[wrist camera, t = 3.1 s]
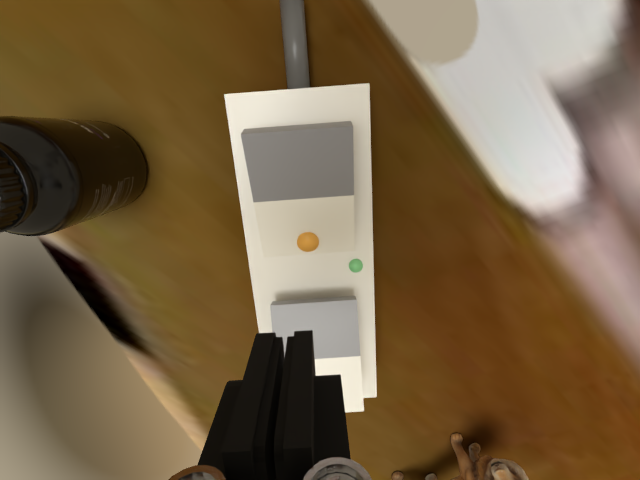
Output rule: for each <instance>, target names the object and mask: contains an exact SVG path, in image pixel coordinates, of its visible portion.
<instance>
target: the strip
mask: <svg viewBox="0 0 640 480" xmlns="http://www.w3.org/2000/svg"><path fill="white" fill-rule="evenodd" d="M280 11H281V22H282V33H283V44H284V55H285V65H286V76H287V87H288V89H287V90H274V91H260V92H247V93H234V94H224V96H225V103H226V110H227V117H228V124H229V130H230V137H231V144H232V151H233V158H234V165H235V172H236V178H237V185H238V192H239V199H240V206H241V213H242V219H243V226H244V233H245V240H246V247H247V254H248V261H249V267H250V274H251V281H252V288H253V295H254V302H255V308H256V315H257V322H258V329H259V333H272V322H271V310H270V305H271V303H272V302H273V301H282V300H297V299H312V298H327V297H341V296H356V299H357V310H358V326H359V341H360V357H361V373H362V388H363V398H369V397H377V391H376V348H375V304H374V261H373V217H372V174H371V130H370V87H369V83H366V84H353V85H340V86H326V87H313V88H310V80H309V66H308V53H307V39H306V25H305V12H304V0H280ZM343 121H351V122H352V125H353V152H354V227H355V251H349V252H335V253H321V254H306V255H292V256H277V257H264V256H263V250H262V245H261V240H260V234H259V229H258V224H257V219H256V213H255V208H254V203H253V197H252V192H251V187H250V181H249V176H248V171H247V166H246V160H245V155H244V150H243V144H242V139H241V133H242V132H243V130H244V129H249V128H262V127H276V126H289V125H302V124H316V123H329V122H343Z"/></svg>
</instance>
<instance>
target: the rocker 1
mask: <svg viewBox="0 0 640 480" xmlns="http://www.w3.org/2000/svg"><path fill="white" fill-rule="evenodd" d="M241 139H242V144H243V150H244V155H245V160H246V166H247V171H248V176H249V181H250V187H251V192H252V197H253V203H254V208H255V213H256V219H257V224H258V229H259V234H260V240H261V245H262V250H263V256H264V257H277V256H292V255H306V254H321V253H335V252H349V251H355V227H354V152H353V125H352V122H351V121H343V122H329V123H316V124H302V125H289V126H276V127H262V128H249V129H244V130H243V132H242V133H241Z"/></svg>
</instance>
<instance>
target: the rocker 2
mask: <svg viewBox="0 0 640 480" xmlns="http://www.w3.org/2000/svg"><path fill="white" fill-rule="evenodd" d="M270 310H271V322H272V332H275V333H276V337H282V338H283V345H284V355H285V352H286V344H287V337H288V336H294V331H306V330H312V331H313V343H314V358H315V373H316V376H321V375H338V374H340V375H341V382H342V390H343V399H344V407H345V412H359V411H364V404H363V388H362V373H361V357H360V341H359V326H358V310H357V299H356V296H341V297H327V298H312V299H297V300H282V301H273V302H272V303H271V305H270Z"/></svg>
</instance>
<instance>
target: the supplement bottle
mask: <svg viewBox="0 0 640 480" xmlns="http://www.w3.org/2000/svg"><path fill="white" fill-rule="evenodd" d="M145 182H146V164H145V160H144V157H143V155H142V152H141V150H140V149H139V147H138V146H137V144H136V143H135V142H134V140H133V139H132V138H131V137H130V136H129V135H128V134H126V133H125V132H124V131H122V130H121V129H119V128H117V127H115V126H113V125H111V124H108V123H104V122H99V121H88V120H70V119H52V118H33V117H15V116H0V232H4V231H5V232H8V233H12V234H17V235H23V236H41V235H46V234H50V233H53V232H56V231H59V230H62V229H65V228H67V227H70V226H73V225H76V224H78V223H81V222H84V221H86V220H89V219H92V218H95V217H97V216H100V215H103V214H105V213H108V212H111V211H114V210H116V209H119V208H121V207H124V206H126V205H128V204H130V203H131V202H133V201H134V200H135V199H136V198H137V197H138V196H139V195H140V193H141V192H142V190H143V188H144V185H145Z"/></svg>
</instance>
